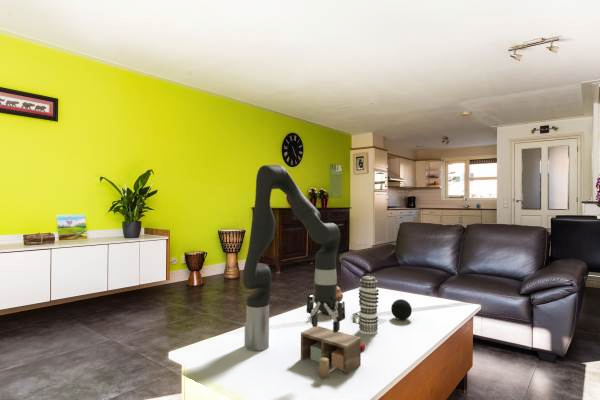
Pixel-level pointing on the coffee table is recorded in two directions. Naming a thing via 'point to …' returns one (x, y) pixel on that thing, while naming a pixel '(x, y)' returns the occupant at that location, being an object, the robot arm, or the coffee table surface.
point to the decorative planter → (338, 298)
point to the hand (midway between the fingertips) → (325, 329)
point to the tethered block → (336, 363)
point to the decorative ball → (401, 309)
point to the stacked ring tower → (368, 305)
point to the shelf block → (316, 351)
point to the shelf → (332, 346)
